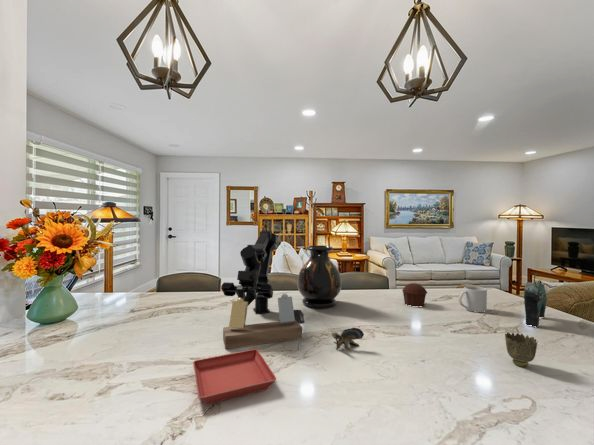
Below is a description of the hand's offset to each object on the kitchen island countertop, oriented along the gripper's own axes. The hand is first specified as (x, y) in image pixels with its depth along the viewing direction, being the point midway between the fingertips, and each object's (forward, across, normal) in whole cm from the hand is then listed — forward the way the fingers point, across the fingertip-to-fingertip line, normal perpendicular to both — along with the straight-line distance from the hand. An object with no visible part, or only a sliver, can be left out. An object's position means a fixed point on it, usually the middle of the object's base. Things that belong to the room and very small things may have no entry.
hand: (242, 310), depth 104 cm
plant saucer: (+27, +7, -13) cm, 31 cm away
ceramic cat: (-16, +113, +29) cm, 118 cm away
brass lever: (+8, 0, -1) cm, 8 cm away
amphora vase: (-24, +25, +36) cm, 50 cm away
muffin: (-29, +71, +41) cm, 87 cm away
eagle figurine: (+9, +37, +3) cm, 38 cm away
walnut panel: (+7, +8, +5) cm, 12 cm away
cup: (+12, +86, 0) cm, 86 cm away
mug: (-26, +95, +38) cm, 106 cm away
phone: (-9, +15, +22) cm, 28 cm away
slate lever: (+2, +16, +5) cm, 17 cm away
